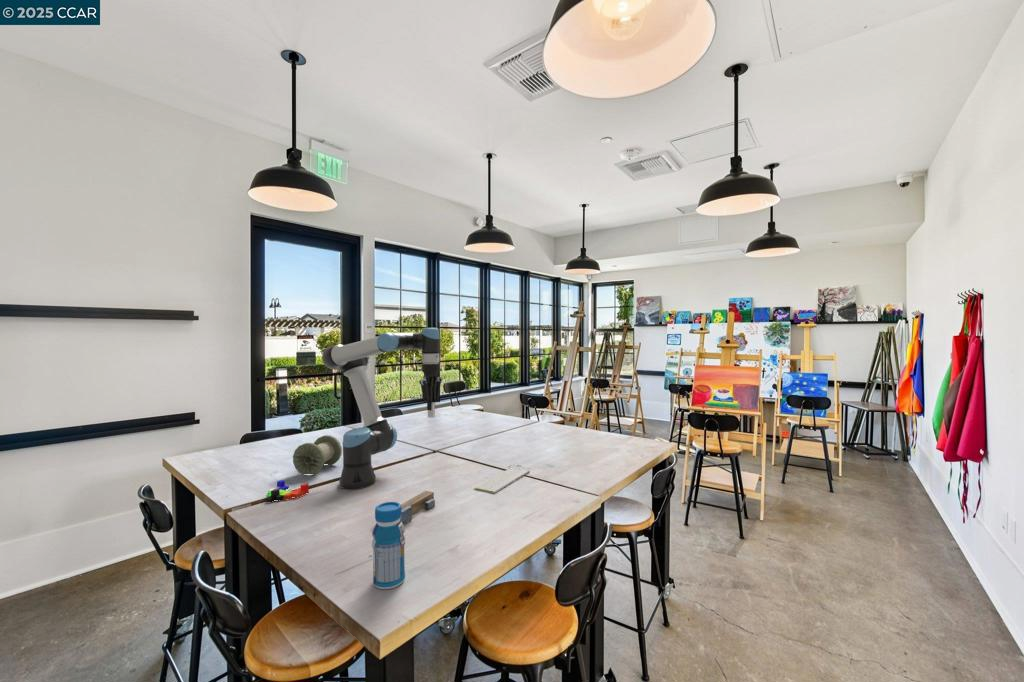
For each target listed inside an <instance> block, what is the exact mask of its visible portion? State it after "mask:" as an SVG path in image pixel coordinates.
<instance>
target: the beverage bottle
mask: <svg viewBox="0 0 1024 682" xmlns="http://www.w3.org/2000/svg"><path fill="white" fill-rule="evenodd" d="M401 504H402V503H400V502H398V501H386V502H383V503H379V504H377V505H376V506H375V509H374V519H375V522H376V524H375V525H374V527H373V530H372V537H373V539H372V542H371V548H372V562H373V563H372V566H373V569H372V571H373V572H372V573H373V576H372V583H373V586H374V587H376V588H377V589H379V590H391V589H394V588H396V587H398V586H400V585H402V583H404V581H405V579H406V569H405V544H406V537H405V535H404V533H405V531H406V530H405V525H404V524H403V523H402V522H401V520H400V518H401V515H402V507H401Z"/></svg>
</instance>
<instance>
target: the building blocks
mask: <svg viewBox="0 0 1024 682" xmlns="http://www.w3.org/2000/svg"><path fill="white" fill-rule="evenodd" d="M309 487H310V486H309V483H307V482H306V483H305V482H304V483H302V484H300V487H299V488H297V489H295V490H292V491H291V490H288V491H286V489H288V488H289V489H290V486H289V485H286V480H284V479H281V480H277V481H276V487H275V486H274V487H273V488H270V489H267V495H266V499H265V502H266V501H267V502H272V501H274V500H278V501H277V502H280V501H279V500H281V501H283V500H282V499H289V500H291V499H290V498H292V497H295V498H297V497H299V498H301V497H300V496H302V495H304V494H306V493H308V494H309V491H310V490H309V489H310V488H309ZM306 495H307V494H306ZM304 496H305V495H304ZM302 497H303V496H302ZM295 498H294V499H295ZM292 499H293V498H292ZM297 499H298V498H297ZM267 502H266V503H267ZM274 502H275V501H274ZM272 503H273V502H272Z"/></svg>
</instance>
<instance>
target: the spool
mask: <svg viewBox="0 0 1024 682" xmlns="http://www.w3.org/2000/svg"><path fill="white" fill-rule="evenodd" d="M342 455H343V446H342V445H341V442H340V441H339V440H338V439H337V438H336V437H335V436H333V435H328V434H327V435H326V434H325V435H323V436H320V437H317V439H316V440H315V441H314V443H313V442H305V443H303V444H300V445H299V446H297V447H296V448H295V449H294V452H293V454H292V463H293V465H294V469H296V471H297V472H298V473H299V474H301V475H303V474H314V475H316V474H319V473H320V472H321V470H322V469H323V467H324V466H323V465H324V464H328V465H330V466H333V465H335V464H337V462H338V461H339V460H340V459H341V456H342Z"/></svg>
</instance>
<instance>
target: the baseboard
mask: <svg viewBox="0 0 1024 682" xmlns="http://www.w3.org/2000/svg"><path fill="white" fill-rule="evenodd" d="M511 466H512V467H511ZM518 467H519V468H518ZM507 468H508V469H506V470H504V471H502V472H501V473H499V474H497V475H495V476H493V477H492V478H490V479H488V480H486V481H485V482H482V483H481V484H479V485H477V486H476V487H474V488H473V490H475V491H476V490H477V491H480V492H485V493H489V494H497V493H498V492H499V491H501V490H503V489H505V488H507V487H508V486H510V485H511V484H513V483H514V482H516V481H517V480H519V479H521V478H522V477H524V476H526V475H528V474H529V473H530V472H531V471H530V467H528V468H527V469H524V467H522V465H517V466H516V467H515V466H513V465H511V464H510V465H509V466H508V467H507ZM504 487H505V488H504Z"/></svg>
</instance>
